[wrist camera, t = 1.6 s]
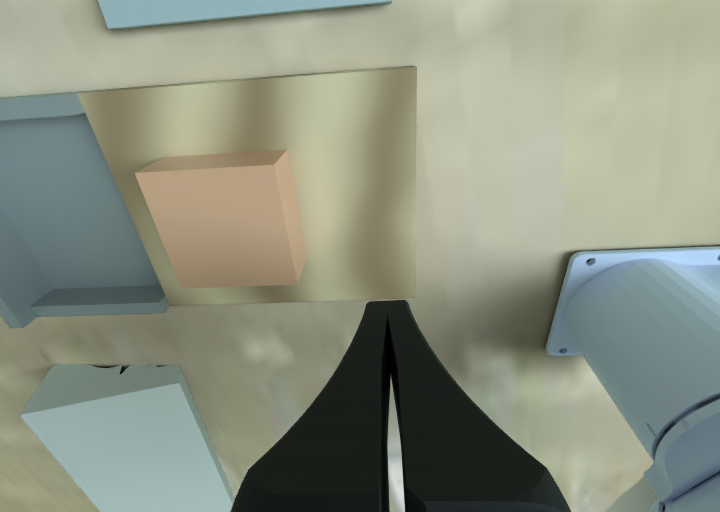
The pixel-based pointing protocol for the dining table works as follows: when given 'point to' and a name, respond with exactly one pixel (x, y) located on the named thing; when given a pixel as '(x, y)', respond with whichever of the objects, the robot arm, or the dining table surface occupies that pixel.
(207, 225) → the tile
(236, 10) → the pale blue flat panel
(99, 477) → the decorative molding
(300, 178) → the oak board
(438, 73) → the dining table surface
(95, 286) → the tray
